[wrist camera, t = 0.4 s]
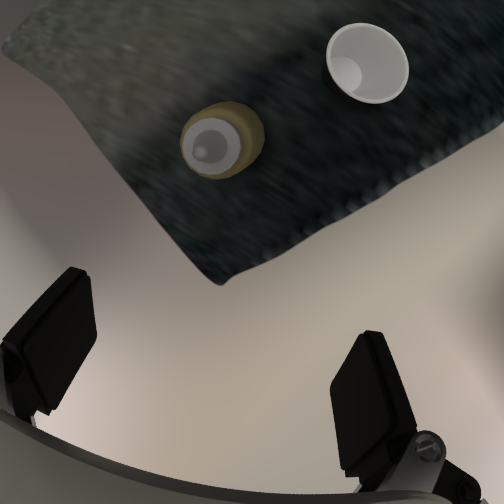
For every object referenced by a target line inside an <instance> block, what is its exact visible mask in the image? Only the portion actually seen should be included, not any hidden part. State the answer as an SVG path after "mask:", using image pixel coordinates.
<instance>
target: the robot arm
mask: <svg viewBox="0 0 504 504" xmlns="http://www.w3.org/2000/svg"><path fill="white" fill-rule="evenodd" d="M96 338H97V330H96V323H95V317H94V308H93V299H92V289H91V279H90V277H89V276H87V273H86V271H84V270H81V269H78V268H75V267H69V268H68V269H67V270H66V271H65V272H64V273H63V274H62V275H61V276H60V277H59V278H58V279H57V280H56V281H55V282H54V283H53V284H52V285H51V286H50V287H49V288H48V289H47V290H46V291H45V292H44V293H43V295H41V296H40V297H39V299H38V300H37V301H36V302H35V303H34V304H33V305H32V306H31V307H30V308H29V309H28V310H27V311H26V313H25V314H24V315H23V316H22V317H21V318H20V319H19V320H18V322H17V323H16V324H15V325H14V326H13V327H12V328H11V330H10V331H9V332H8V333H7V334H6V336H5V337H4V338H3V342H2V343H1V344H0V504H488V503H487V501H486V500H485V499H482V500H480V498H481V488H480V485H479V483H478V482H477V480H476V479H474V478H473V477H472V476H470V475H469V474H467V473H466V472H464V471H462V470H461V469H460V468H458V467H457V466H455V465H454V464H452V463H451V462H449V461H448V460H446V459H445V457H446V447H445V444H444V442H443V440H442V439H441V438H440V437H439V436H438V435H437V434H435V433H433V432H431V431H426V430H423V431H419V432H417V429H416V427H417V424H416V421H415V418H414V415H413V412H412V409H411V406H410V403H409V400H408V397H407V395H406V392H405V389H404V386H403V384H402V381H401V378H400V376H399V373H398V370H397V368H396V365H395V362H394V360H393V357H392V355H391V352H390V350H389V347H388V345H387V342H386V340H385V338H384V335H383V334H382V333H381V332H376V331H369V330H366V331H365V332H364V333H363V334H360V335H359V336H358V337H357V339H356V341H355V343H354V345H353V347H352V348H351V350H350V352H349V354H348V355H347V357H346V359H345V361H344V362H343V364H342V366H341V368H340V369H339V371H338V373H337V375H336V376H335V378H334V379H333V381H332V383H331V386H330V396H331V402H332V409H333V415H334V422H335V429H336V436H337V443H338V451H339V459H340V466H341V469H342V470H345V477H359V482H360V484H359V485H358V486H357V488H356V489H355V491H354V492H353V493H347V494H277V493H263V492H252V491H243V490H234V489H227V488H220V487H214V486H208V485H202V484H197V483H192V482H187V481H183V480H178V479H173V478H169V477H165V476H162V475H158V474H154V473H150V472H147V471H143V470H140V469H137V468H134V467H130V466H127V465H124V464H121V463H118V462H115V461H112V460H110V459H107V458H104V457H101V456H99V455H96V454H94V453H91V452H89V451H86V450H84V449H81V448H79V447H77V446H74V445H72V444H70V443H68V442H65V441H63V440H61V439H59V438H57V437H55V436H52V435H50V434H48V433H46V432H44V431H42V430H40V429H38V428H37V427H36V423H35V419H34V414H35V412H36V411H37V410H38V411H40V412H42V413H44V414H46V415H48V416H49V414H50V412H51V411H52V410H56V408H57V407H58V405H59V404H60V402H61V400H62V398H63V396H64V394H65V393H66V391H67V389H68V387H69V386H70V384H71V382H72V380H73V379H74V377H75V375H76V373H77V372H78V370H79V368H80V366H81V365H82V363H83V362H84V360H85V358H86V356H87V355H88V353H89V351H90V350H91V348H92V347H93V345H94V343H95V341H96Z"/></svg>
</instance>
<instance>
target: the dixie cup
mask: <svg viewBox="0 0 504 504" xmlns="http://www.w3.org/2000/svg"><path fill="white" fill-rule="evenodd" d="M408 75H409V65H408V60H407V57H406V54H405V52H404V50H403V48H402V46H401V45H400V44H399V42H398V41H397V40H396V39H395V38H394V37H393V36H392V35H391V34H390V33H388V32H387V31H385V30H384V29H382V28H380V27H377V26H375V25H372V24H367V23H354V24H350V25H347V26H344V27H342V28H341V29H339V30H338V31H337V32H336V33H335V34H334V35H333V36H332V38H331V39H330V41H329V43H328V46H327V52H326V58H325V61H324V63H323V66H322V77H323V80H324V82H325V83H326V85H327V86H328V87H329V88H330V89H331V90H332V91H334V92H336V93H338V94H342V95H347V96H351V97H353V98H354V99H357V100H359V101H362V102H366V103H374V104H375V103H384V102H387V101H390V100H392V99H393V98H395V97H396V96H398V95H399V94H400V93H401V91H402V90H403V89H404V87H405V85H406V83H407V80H408Z"/></svg>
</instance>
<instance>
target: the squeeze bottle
mask: <svg viewBox="0 0 504 504" xmlns="http://www.w3.org/2000/svg"><path fill="white" fill-rule="evenodd" d="M264 140H265V135H264V127H263V124H262V122H261V120H260V119H259V117H258V115H257V113H256V112H254V111H253V110H252V109H250V108H249V107H248V106H246V105H245V104H241V103H237V102H233V101H228V102H221V103H216V104H214V105H211V106H209V107H207V108H204V109H203V110H201V111H199V112H198V113H196V114H195V115H193V116H191V118H190V119H189V121H188V122H187V123H186V125H185V126H184V127H183V130H182V134H181V139H180V146H181V153H182V156H183V158H184V160H185V161H186V163H187V165H188V166H189V168H191V169H192V170H193V171H195V172H196V173H197V174H199V175H200V176H203V177H207V178H210V179H214V180H215V179H223V178H229V177H231V176H233V175H235V174H237V173H238V172H240V171H242V170H243V169H245V168H246V167H247V166H249V165H250V164H251V163H252V162H253V161H254V160H255V159H256V158H257V156H258V155H259V154H260V153H261V150H262V147H263V144H264Z"/></svg>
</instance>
